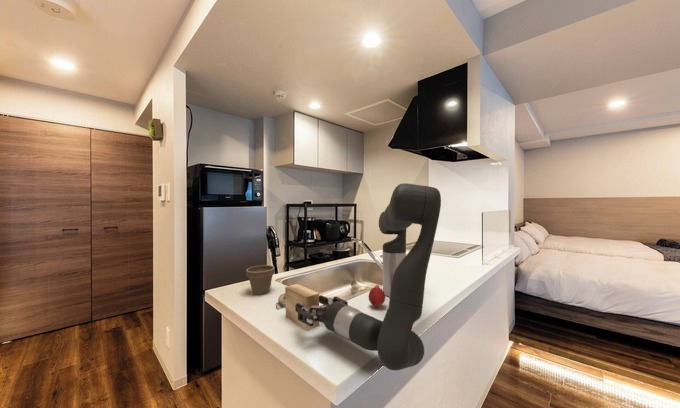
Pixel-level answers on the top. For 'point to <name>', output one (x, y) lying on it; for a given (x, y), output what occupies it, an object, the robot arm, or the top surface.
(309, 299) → the brown rectangular block
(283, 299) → the vase
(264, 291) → the flower pot
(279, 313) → the top surface
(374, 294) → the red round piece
